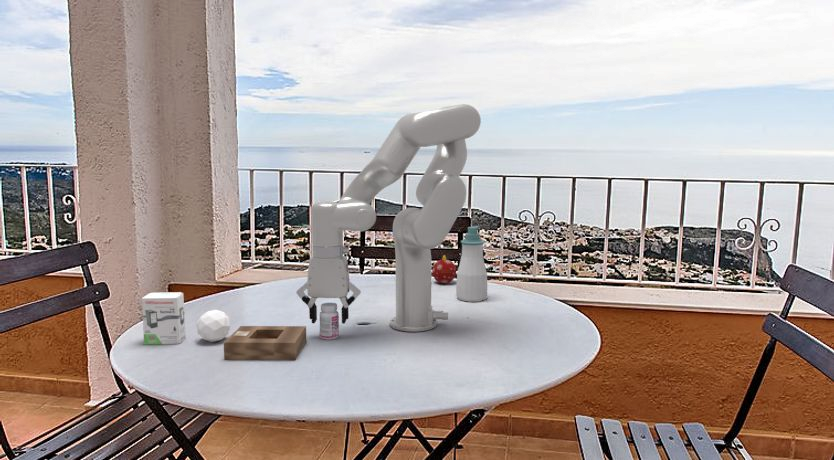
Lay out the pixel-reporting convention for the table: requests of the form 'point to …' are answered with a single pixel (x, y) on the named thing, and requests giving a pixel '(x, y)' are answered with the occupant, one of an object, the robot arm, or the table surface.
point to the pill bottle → (329, 321)
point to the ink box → (163, 318)
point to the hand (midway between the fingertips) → (329, 321)
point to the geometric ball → (213, 325)
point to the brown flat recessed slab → (265, 343)
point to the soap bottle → (472, 269)
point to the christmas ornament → (444, 270)
